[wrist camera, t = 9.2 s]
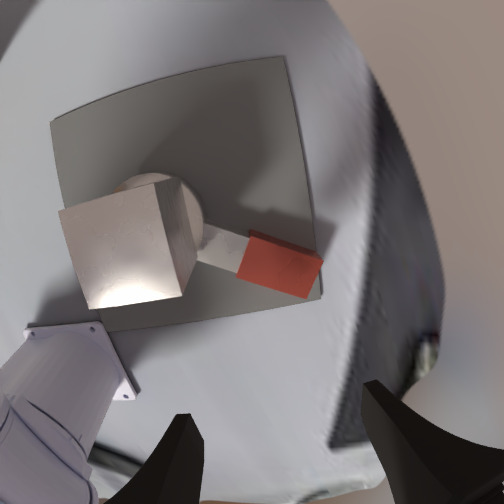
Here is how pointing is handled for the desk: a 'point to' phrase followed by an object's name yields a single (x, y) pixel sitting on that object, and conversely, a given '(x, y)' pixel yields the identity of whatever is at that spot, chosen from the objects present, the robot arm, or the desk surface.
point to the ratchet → (243, 246)
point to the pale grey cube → (131, 244)
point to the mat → (198, 172)
